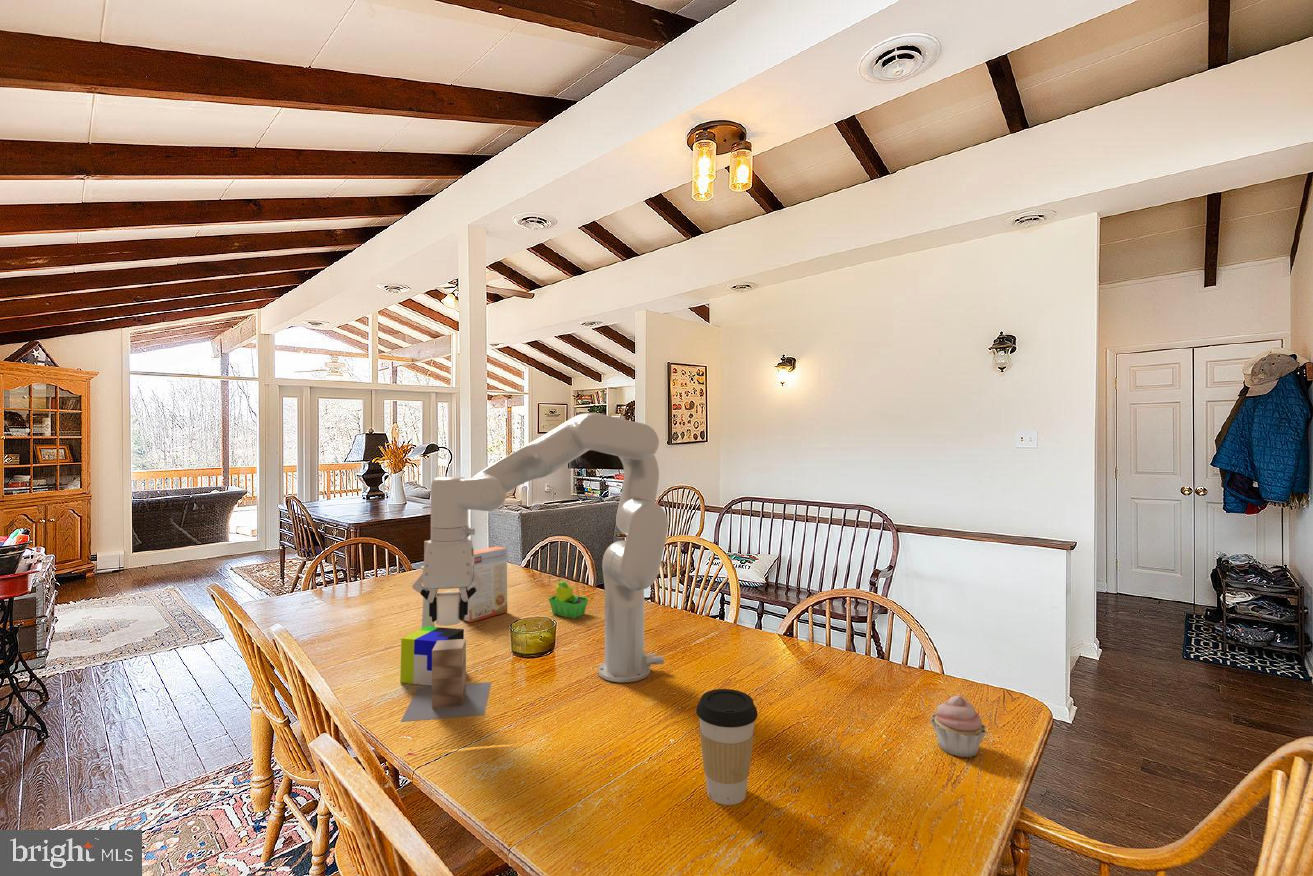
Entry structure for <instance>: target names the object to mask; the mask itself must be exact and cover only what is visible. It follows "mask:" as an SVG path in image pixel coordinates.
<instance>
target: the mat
mask: <svg viewBox="0 0 1313 876" xmlns="http://www.w3.org/2000/svg"><path fill="white" fill-rule="evenodd" d="M491 686H492V681H485V682H474V683H473V682H472V683H470V682H469V683H466V694H465V698H464V701H463V704H462V706H451V707H438V708H432V686H430V685H427V686H418V687H417V688H416V690H415V692H414V694H413V696H412V698H411V700H410V702H409V704H408V707H406V708H407V709H406V710H405V711H404V712H405V713H404V714H403V716H402V718H401V720H400V722H401V723H403V722H404V723H405V722H415V721H416V722H417V721H429V720H430V721H431V720H441V719H442V720H443V719H450V718H451V719H452V718H455V719H456V718H464V717H465V718H466V717H475V716H476V717H477V716H484V715H485V713H486V708H487V703H488V700H489V695H490V690H491Z"/></svg>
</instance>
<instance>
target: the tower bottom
mask: <svg viewBox="0 0 1313 876" xmlns="http://www.w3.org/2000/svg"><path fill="white" fill-rule="evenodd" d="M466 676H467V666H466V667H465V670H464V673H463V676H462V677H458V678H444V679H432V708H438V707H451V706H462V704H463V701H464V698H465V694H466V684H467V677H466Z"/></svg>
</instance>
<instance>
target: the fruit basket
mask: <svg viewBox="0 0 1313 876" xmlns="http://www.w3.org/2000/svg"><path fill="white" fill-rule="evenodd" d="M573 593H574V588H573V587H572V586H570V585H569V584H568V583H567V582H566V581H564V580H562V581H561V580H560V582H558V583H557V584H556V587H555V595H553V596H550V597H548V601H549V604H550V606H551V607H550V608H551V612H552V614H554V615H558V616H560V617H561V616H562V617H566V618H570V619H576V618H579V617H581V616H584V615H585V612H586V609H587V605H588V602H589V598H588V597H585V596H580V595H577V594H573Z"/></svg>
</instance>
